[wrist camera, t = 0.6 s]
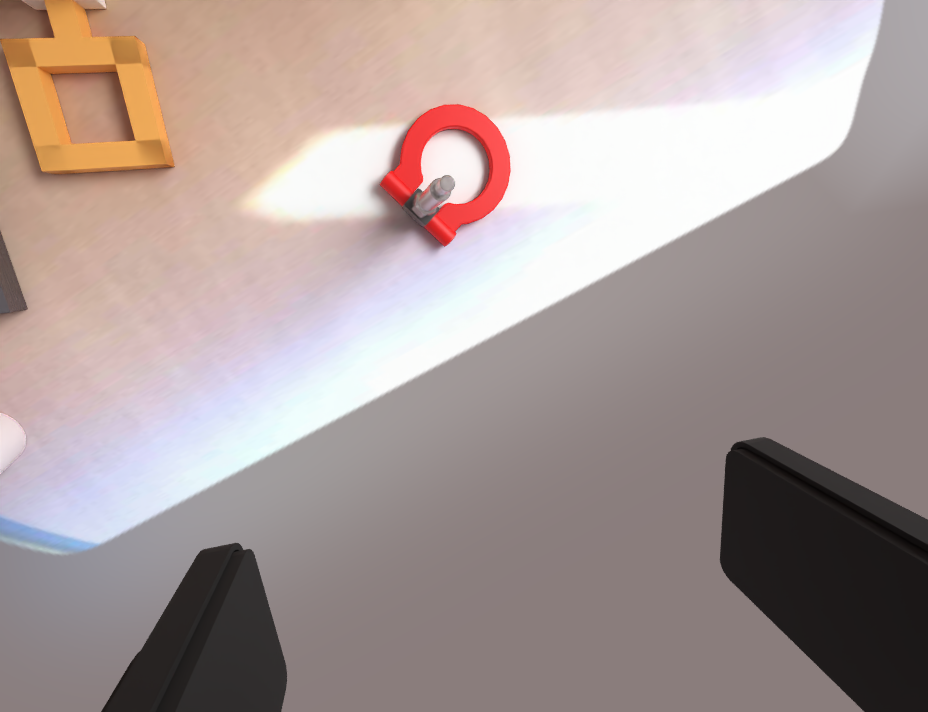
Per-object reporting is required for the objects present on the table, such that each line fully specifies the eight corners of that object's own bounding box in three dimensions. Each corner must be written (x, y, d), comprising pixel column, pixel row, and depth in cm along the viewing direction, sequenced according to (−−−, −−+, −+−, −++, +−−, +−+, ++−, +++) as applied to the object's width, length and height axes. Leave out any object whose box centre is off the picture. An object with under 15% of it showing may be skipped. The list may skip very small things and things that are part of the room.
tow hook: (450, 83, 33) (368, 178, 33) (501, -24, 20) (370, 129, 20) (526, 168, 35) (450, 256, 35) (613, 119, 23) (496, 254, 23)
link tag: (-21, -69, 26) (-190, -201, 18) (117, -68, 27) (12, -191, 19) (55, 174, 29) (-61, 149, 22) (174, 166, 30) (104, 140, 23)
